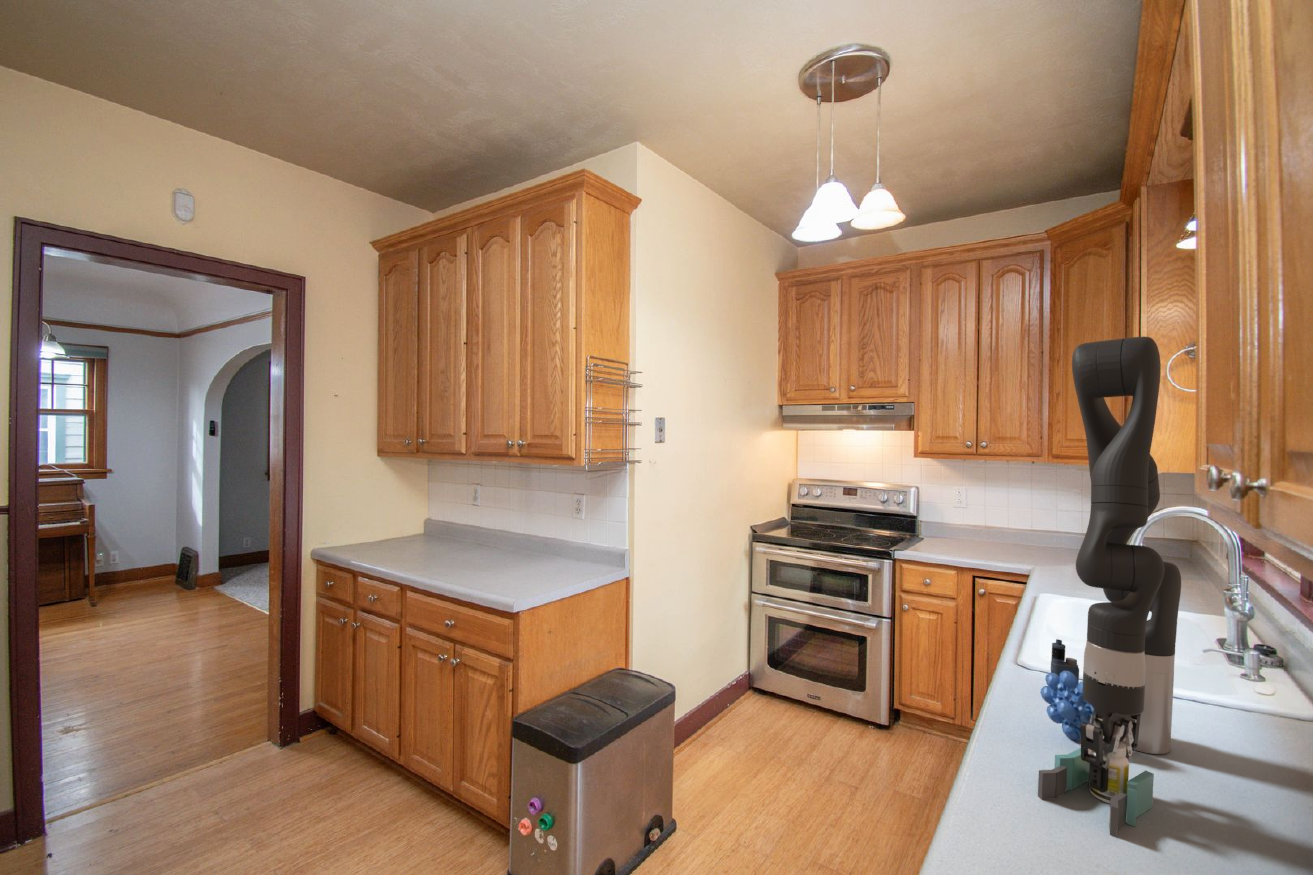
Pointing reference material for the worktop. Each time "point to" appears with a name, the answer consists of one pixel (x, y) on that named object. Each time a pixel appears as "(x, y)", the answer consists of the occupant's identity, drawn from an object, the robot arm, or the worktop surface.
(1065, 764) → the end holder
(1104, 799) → the supplement bottle
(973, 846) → the worktop surface
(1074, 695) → the grapes
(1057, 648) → the vaping device
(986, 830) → the worktop surface
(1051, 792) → the pair of grey blocks
